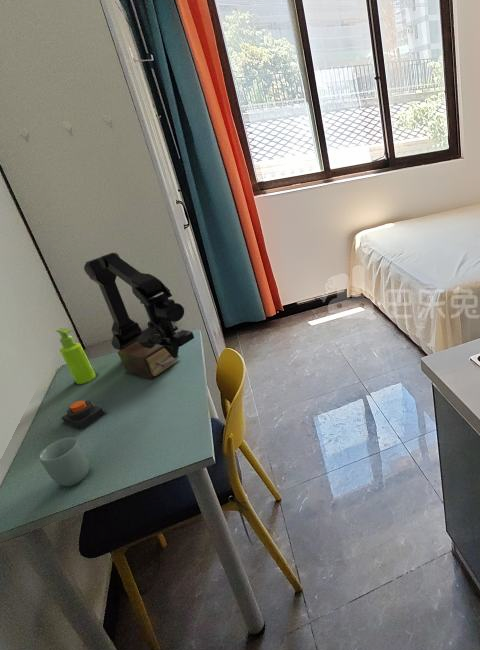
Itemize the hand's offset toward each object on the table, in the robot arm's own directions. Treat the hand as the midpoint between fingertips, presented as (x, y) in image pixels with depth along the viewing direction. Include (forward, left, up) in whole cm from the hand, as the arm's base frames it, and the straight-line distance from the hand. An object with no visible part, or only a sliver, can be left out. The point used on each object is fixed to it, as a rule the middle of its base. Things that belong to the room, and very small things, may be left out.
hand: (175, 357), depth 147 cm
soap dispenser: (-33, -13, -7) cm, 36 cm away
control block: (-11, -27, -7) cm, 30 cm away
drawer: (-11, 0, -6) cm, 13 cm away
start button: (-11, -27, -3) cm, 29 cm away
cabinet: (-15, 0, -7) cm, 17 cm away
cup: (+12, -43, -7) cm, 45 cm away
